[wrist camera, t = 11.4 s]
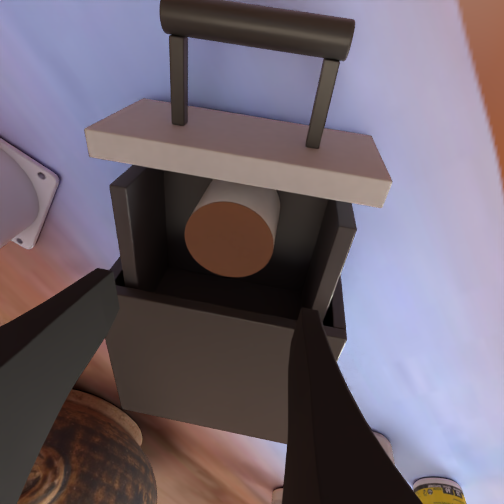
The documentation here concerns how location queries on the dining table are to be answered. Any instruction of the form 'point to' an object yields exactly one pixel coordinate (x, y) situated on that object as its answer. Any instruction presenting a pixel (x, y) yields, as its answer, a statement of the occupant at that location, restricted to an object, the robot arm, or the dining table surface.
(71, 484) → the vessel
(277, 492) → the pill bottle
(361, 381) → the dining table surface
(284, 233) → the drawer
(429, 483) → the supplement bottle
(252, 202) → the cylinder
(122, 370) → the dark grey box
